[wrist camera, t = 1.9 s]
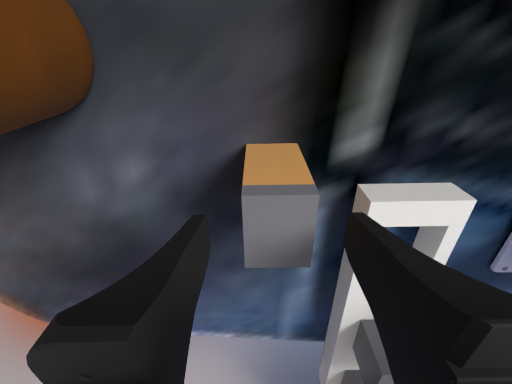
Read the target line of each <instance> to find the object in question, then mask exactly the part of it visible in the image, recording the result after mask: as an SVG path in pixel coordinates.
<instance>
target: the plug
mask: <svg viewBox="0 0 512 384" xmlns="http://www.w3.org/2000/svg"><path fill="white" fill-rule="evenodd" d="M241 199H242V218H243V237H244V256H245V268H276V267H310V266H311V258H312V250H313V242H314V235H315V227H316V219H317V211H318V203H319V192H318V190H317V188H316V185H315V183H314V181H313V179H312V176H311V174H310V172H309V169H308V167H307V165H306V162H305V160H304V158H303V156H302V153H301V151H300V149H299V146H298V144H297V143H288V144H246V154H245V164H244V174H243V184H242V194H241Z"/></svg>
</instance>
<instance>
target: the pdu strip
mask: <svg viewBox="0 0 512 384" xmlns="http://www.w3.org/2000/svg"><path fill="white" fill-rule="evenodd" d="M476 202H477V200H476V199H475V198H473V197H472V196H470V195H469V194H467V193H466V192H464V191H463V190H461V189H460V188H458V187H457V186H456V185H454V184H453V183H404V184H358V186H357V191H356V195H355V200H354V205H353V210H352V212H363V213H365V214H366V215H368V216H369V217H370V218H372V219H373V220H375V221H376V222H377V223H379V224H380V225H381V226H383V227H410V226H420V228H419V230H418V233H417V236H416V238H415V241H414V243H413V246H412V247H414V248H415V249H417V250H418V251H420V252H422V253H423V254H425V255H427V256H429V257H431V258H432V259H434V260H436V261H438V262H440V263H441V264H443V265H445V264H446V262H447V260H448V258H449V256H450V254H451V252H452V250H453V248H454V246H455V244H456V242H457V240H458V238H459V236H460V234H461V232H462V230H463V228H464V226H465V224H466V222H467V220H468V218H469V216H470V214H471V212H472V210H473V208H474V206H475V204H476ZM318 375H319V380H320V384H394V382H393V378H392V375H391V372H390V368H389V365H388V361H387V358H386V354H385V351H384V348H383V345H382V342H381V339H380V335H379V332H378V329H377V326H376V323H375V321H374V318H373V315H372V312H371V309H370V307H369V305H368V302H367V300H366V298H365V296H364V294H363V291H362V289H361V287H360V285H359V283H358V281H357V278H356V276H355V274H354V272H353V270H352V268H351V265H350V263H349V260H348V257H347V254H346V251H345V248H344V253H343V257H342V262H341V267H340V272H339V276H338V281H337V286H336V291H335V295H334V300H333V305H332V310H331V315H330V319H329V324H328V329H327V334H326V338H325V343H324V348H323V353H322V358H321V362H320V367H319V372H318Z"/></svg>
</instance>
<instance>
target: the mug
mask: <svg viewBox="0 0 512 384" xmlns="http://www.w3.org/2000/svg"><path fill="white" fill-rule="evenodd" d="M92 78H93V55H92V51H91V46H90V43H89V40H88V37H87V34H86V32H85V30H84V28H83V25H82V24H81V22H80V20H79V18H78V16H77V15H76V13H75V12H74V10H73V9H72V7H71V6H70V5H69V3H68V2H67V1H66V0H0V135H2V134H5V133H8V132H11V131H13V130H16V129H19V128H22V127H25V126H27V125H30V124H33V123H36V122H38V121H41V120H44V119H47V118H50V117H53V116H56V115H59V114H61V113H64V112H66V111H68V110H70V109H72V108H73V107H75V106H76V105H77V104H78V103H79V102H81V101H82V100H83V98H84V97H85V96H86V94H87V92H88V90H89V88H90V85H91V82H92Z"/></svg>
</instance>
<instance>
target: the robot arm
mask: <svg viewBox="0 0 512 384" xmlns="http://www.w3.org/2000/svg"><path fill="white" fill-rule="evenodd" d="M344 247H345V251H346V254H347V257H348V260H349V263H350V265H351V268H352V270H353V272H354V274H355V276H356V278H357V281H358V283H359V285H360V287H361V289H362V291H363V294H364V296H365V298H366V300H367V302H368V305H369V307H370V309H371V312H372V315H373V318H374V321H375V323H376V326H377V329H378V332H379V335H380V339H381V342H382V345H383V348H384V351H385V354H386V358H387V361H388V365H389V368H390V372H391V375H392V378H393V382H394V384H512V294H510V293H507V292H505V291H502V290H500V289H497V288H495V287H492V286H490V285H487V284H485V283H482V282H480V281H477V280H475V279H473V278H471V277H468V276H466V275H464V274H462V273H460V272H458V271H456V270H453V269H451V268H449V267H447V266H445V265H443V264H441V263H440V262H438V261H436V260H434V259H432V258H431V257H429V256H427V255H425V254H423V253H422V252H420V251H418V250H417V249H415V248H414V247H412V246H410V245H409V244H407V243H406V242H404V241H403V240H401V239H400V238H398V237H397V236H395V235H394V234H393V233H391V232H390V231H388V230H387V229H386V228H384V227H383V226H381V225H380V224H379V223H377V222H376V221H375V220H373V219H372V218H370V217H369V216H368V215H366V214H365V213H363V212H350V215H349V220H348V225H347V230H346V235H345V240H344ZM209 250H210V242H209V235H208V228H207V221H206V215H193V216H192V217H191V218H190V219H189V220H188V221H187V222H186V223H185V225H184V226H183V227H182V228H181V229H180V230H179V231H178V232H177V233H176V234H175V235H174V236H173V237H172V238H171V239H170V240H169V241H168V242H167V243H166V244H165V245H164V246H163V247H162V248H161V249H160V250H159V251H158V252H157V253H156V254H154V255H153V256H152V257H151V258H150V259H148V260H147V261H146V262H145V263H143V264H142V265H141V266H139V267H138V268H137V269H135V270H134V271H132V272H131V273H129V274H128V275H126V276H125V277H123V278H122V279H120V280H119V281H117V282H116V283H114V284H113V285H111V286H109V287H108V288H106V289H104V290H102V291H101V292H99V293H97V294H95V295H94V296H92V297H90V298H88V299H86V300H84V301H82V302H80V303H78V304H76V305H74V306H72V307H70V308H68V309H66V310H64V311H62V312H60V313H58V314H57V315H56V316H55V317H54V318H53V320H52V321H51V322H50V324H49V325H48V326H47V328H46V329H45V330H44V332H43V333H42V334H41V336H40V337H39V338H38V340H37V341H36V342H35V344H34V345H33V347H32V348H31V349H30V351H29V353H28V354H27V356H26V357H27V364H28V366H29V368H30V369H31V371H32V372H33V373H34V374H35V375H36V376H37V377H38V379H39V380H40V381H41V382H42V383H43V384H184V378H185V371H186V363H187V357H188V350H189V344H190V337H191V331H192V325H193V319H194V314H195V309H196V305H197V301H198V298H199V294H200V290H201V287H202V283H203V279H204V276H205V272H206V268H207V264H208V258H209ZM490 268H491V270H493V271H494V272H512V232H511V234H510V236H509V237H508V239H507V240H506V242H505V244H504V245H503V247H502V248H501V250H500V252H499V253H498V255H497V256H496V258H495V260H494V261H493V263H492V264H491V267H490Z"/></svg>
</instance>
